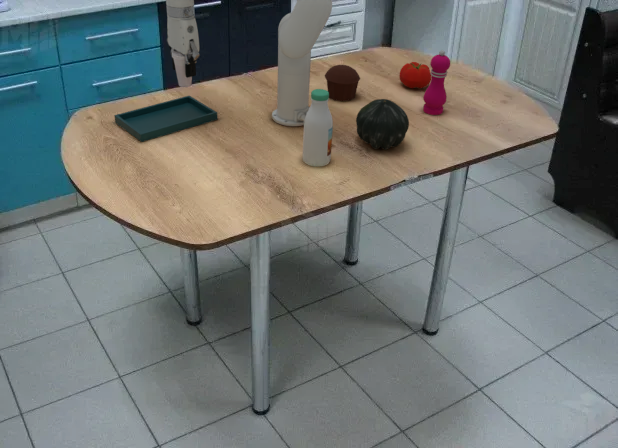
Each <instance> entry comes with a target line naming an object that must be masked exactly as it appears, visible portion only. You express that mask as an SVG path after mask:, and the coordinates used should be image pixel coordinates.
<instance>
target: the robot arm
mask: <svg viewBox="0 0 618 448" xmlns="http://www.w3.org/2000/svg"><path fill="white" fill-rule="evenodd" d="M165 4H166V16H167V20H166V21H167V25H166V26H167V27H166V28H167V30H166V31H167V38H166V42H167V44H168V48H169V50H170V55H171V65H172V70H173V71H176V68H175V63H174V58H173V57H172V52H174V51H176V50H177V51H179V52H181V53H183V54H184V56H185V60H186V64H185V74H186V77H187V78H188V77H192V78H193V77H195V76H196V75H197V67H196V66H197V64H196V63H197V61H198V59H199V57H200V38H199V30H198V24H197V20H196V17H195V0H165ZM332 10H333V0H296V3H295V4H294V7H293V9H292V11H291V12H289V13H287V14H285V15H284V16H283V17H282V18H281V20H280V22H279V24H278V29H277V40H278V42H277V46H278V47H277V94H276V95H277V96H276V99H277V100H276V108H275V109H274V110H273V111H272V112H271V118H272V121H274V122H275V123H277V124H279V125H282V126H287V127H300V126H301V127H302V126H304V121H305V117H306V114H307V112H308V110H309V108H310V105H309V103H310V82H311V79H310V78H311V63H312V62H311V61H312V49H313V47H314V46H315V44H316V42H317V40H318V39H319V37H320V35H321V33H322V32H323V29H324V28H325V26H326V24H327V22H328V21H329V18H330V16H331V13H332ZM189 50H190V51H191V52H189V53H188V51H189ZM188 55H191V57H190V58H189V57H188Z"/></svg>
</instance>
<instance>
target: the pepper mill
mask: <svg viewBox="0 0 618 448" xmlns="http://www.w3.org/2000/svg"><path fill="white" fill-rule="evenodd" d="M450 67H451V59H450V57H449V56H447V55H446V52H445V50H443V49H441V50H439V52H438V54H436V55H434V56H433V57H432V58H431V60H430V68H431V69H430V72H431V81H430V83H429V84H428V86H427V87H426V89H425V92H424V93H423V98H422V100H423V102H424V104H423V109H422V110H423V113H425V114H427V115H430V116H439V115H442V114H443V112H444V108H445V107H444V105H445V104H446V103H447V91H446V88H445V79H446V78H447V76H448V70H449V69H450Z"/></svg>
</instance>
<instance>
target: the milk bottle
mask: <svg viewBox="0 0 618 448" xmlns="http://www.w3.org/2000/svg"><path fill="white" fill-rule="evenodd" d="M310 92H311V93H310V100H311V102H310V103H311V104H310V105H309V107H310V108H309V110H308V112H307V114H306V117H305V121H304V125H303V135H302V137H303V138H302V161H303V163H305V164H306V165H308V166H310V167H324V166H327V165H328V164H330V162H331V160H332V159H331V158H332V145H333V129H334V128H333V127H334V121H333V116H332V113H331V110H330V107H329V103H328V102H329V99H330V98H329V92H328V89H323V88H315V89H313V90H311V91H310Z"/></svg>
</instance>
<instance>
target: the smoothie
mask: <svg viewBox="0 0 618 448" xmlns="http://www.w3.org/2000/svg"><path fill="white" fill-rule="evenodd" d="M189 52H191V51H190V50H189V51H188V53H189ZM172 57H173V58H174V63H175V68H176V70H175V73H176V78H177V84H178V87H180V88H189V87H191V86H192V84H193V83H192V82H193V76H192V77H188V78H187V77H186V74H185V64H186V60H185V56H184V54H183V53H181V52H179V51H177V50H176V51H174V52H172V56H171V58H172ZM188 57H189V58H190V57H191V55H188Z"/></svg>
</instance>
